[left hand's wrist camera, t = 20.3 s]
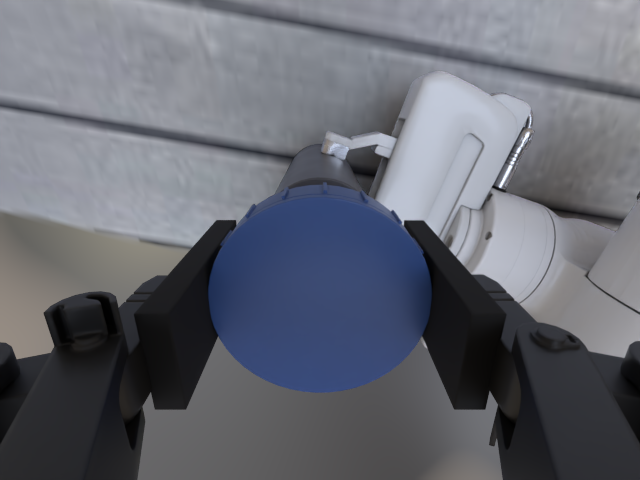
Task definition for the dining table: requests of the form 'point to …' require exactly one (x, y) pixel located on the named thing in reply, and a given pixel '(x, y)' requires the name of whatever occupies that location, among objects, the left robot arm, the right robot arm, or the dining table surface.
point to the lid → (320, 289)
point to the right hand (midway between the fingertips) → (308, 187)
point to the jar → (318, 171)
